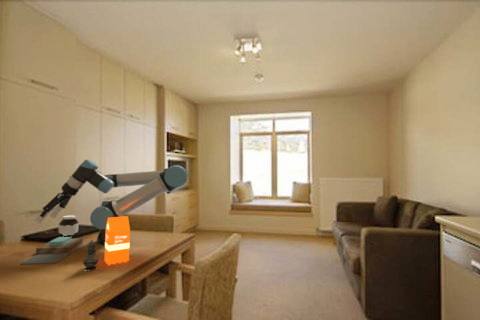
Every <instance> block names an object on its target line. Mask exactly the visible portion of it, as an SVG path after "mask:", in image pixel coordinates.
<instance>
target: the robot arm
mask: <svg viewBox="0 0 480 320" xmlns="http://www.w3.org/2000/svg"><path fill="white" fill-rule="evenodd" d="M98 168H99V166H98V164H96V162H94V161H92V160H90V159H85V160H83V162H82V163H81V164H80V165H78V167H77V168H76V170H74V172H72V175H69V178H68V179H67V180H66V182H65V183H64V184H63V185H62V186H61V190H62V192H58V193H57V194H56V195H55V197H53V198H52V199H51V200H50V201H49V202H47V204H46V205H45V206H43V207H42V211H41V212H40V214H39V215H38V216H37V217H36V218H35V219H34V221H36V222H37V223H38V224H41V223H43V221H44V220H45V219H46V217H47V216H50V217H51V218H52V219H55V218H56V217H57V216H58V214H59V213H60V212H61V211H62V210H63V209H64V210H65V208H66V207H67V206H68V203H69V201H70V200H71V199H72V198H73V196H76V195H77V193H79V191H80V190H81V189H82V188H83V186H84V185H85V184H86V183H89V184H90V185H91V186H93V187H94V188H96V189H97V190H98V191H100V192H101V193H103V194H107V193H109V192H110V191H112V189H113V188H123V187H133V186H141V187H139V188H137V189H135V190H134V191H132V192H130V193H128V194H126V195H124V196H123V197H121V198H119V199H117V200H116V199H112V200H108V201H107V200H104V201H102V202H101V204H100V206H98V207H95V208H94V209H93V210H92V212H91V214H90V218H89V220H90V223H91V224H92V226H93V227H94V228H96V229H98V230H99V231H98V235H97V238H96V243H97V244H99V245H105V234H106V225H107V221H108V218H111V217H122V216H126V214H129V213H130V212H133V211H134V210H135V209H137V208H139V207H141V206H142V205H145V204H146V203H147V202H150V201H151V200H153V199H155V198H157V197H159V196H160V195H162V194H163V193H166V192H167V193H171V192H172V191H174V190H176V189H178V188H181V187H182V186H184V185H185V183H187V181H188V177H189V176H188V171H187V170H186V168H185V167H183V166H181V165H178V164H177V165H171V166H170V167H167V168H163V169H162V170H153V171H142V172H141V171H140V172H126V173H116V174H114V173H113V174H111V173H110V174H103V173H102V172H100V171H99V170H98ZM52 210H53V211H52ZM50 211H52V212H51V213H50Z"/></svg>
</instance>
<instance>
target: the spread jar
mask: <svg viewBox="0 0 480 320" xmlns="http://www.w3.org/2000/svg"><path fill="white" fill-rule="evenodd" d="M76 218H77V216H76V215H73V214H72V215H64V216H62V220H60V221H59V223H58V234H59V235H60V234H61V235H63V236H62V237H64V236H67V235H73V236H75V235H76V234H77V233H78V232H79V226H80V225H79V221H78V219H76ZM75 233H76V234H75ZM74 234H75V235H74ZM61 235H60V236H61Z"/></svg>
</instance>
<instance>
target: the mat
mask: <svg viewBox="0 0 480 320" xmlns="http://www.w3.org/2000/svg"><path fill="white" fill-rule="evenodd" d="M70 254H71V252H70V253H45V254H37V255H36V254H35V255H33V256H32V257H30V258H28V259H26V260H25V261H22V262H21V263H20V265H22V266H23V265H45V264H46V265H48V264H57V263H59V262H60V261H62V260H63V259H64V258H66V257H68V256H69V255H70Z"/></svg>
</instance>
